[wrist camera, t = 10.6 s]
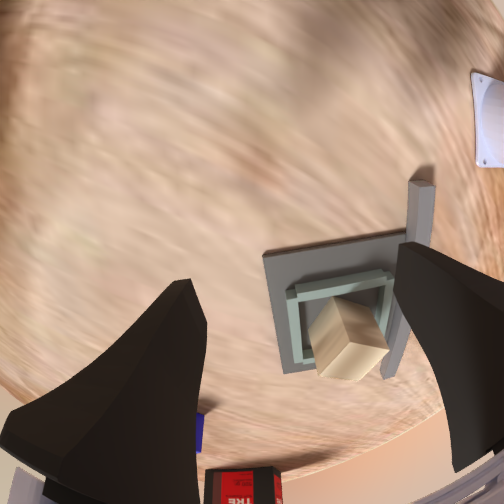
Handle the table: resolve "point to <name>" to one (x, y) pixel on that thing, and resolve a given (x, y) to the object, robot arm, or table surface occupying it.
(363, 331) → the block
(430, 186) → the rail
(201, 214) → the table surface
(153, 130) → the table surface
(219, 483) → the cleaning product box
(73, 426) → the robot arm
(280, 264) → the keeper cradle
